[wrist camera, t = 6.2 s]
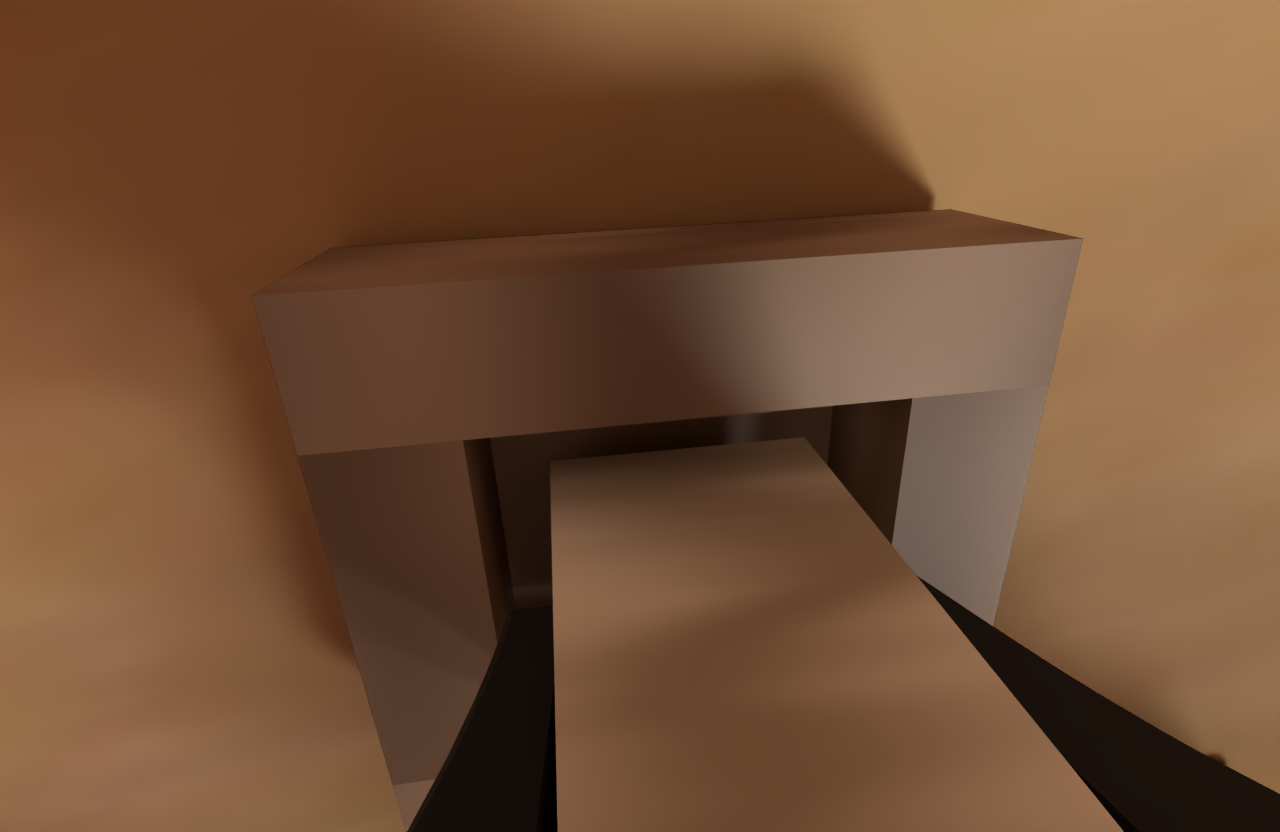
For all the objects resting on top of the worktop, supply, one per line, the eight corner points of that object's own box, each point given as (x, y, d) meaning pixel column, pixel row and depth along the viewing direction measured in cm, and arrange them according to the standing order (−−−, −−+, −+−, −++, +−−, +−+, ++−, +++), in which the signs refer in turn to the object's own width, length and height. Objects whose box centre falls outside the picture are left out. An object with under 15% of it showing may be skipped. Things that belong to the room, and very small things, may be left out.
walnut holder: (950, 209, 11) (1084, 238, 8) (883, 660, 15) (957, 778, 12) (330, 248, 10) (251, 295, 7) (440, 720, 14) (415, 863, 11)
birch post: (803, 436, 10) (1205, 933, 4) (789, 632, 12) (1057, 1195, 6) (549, 460, 10) (563, 1054, 4) (571, 660, 12) (604, 1299, 5)
